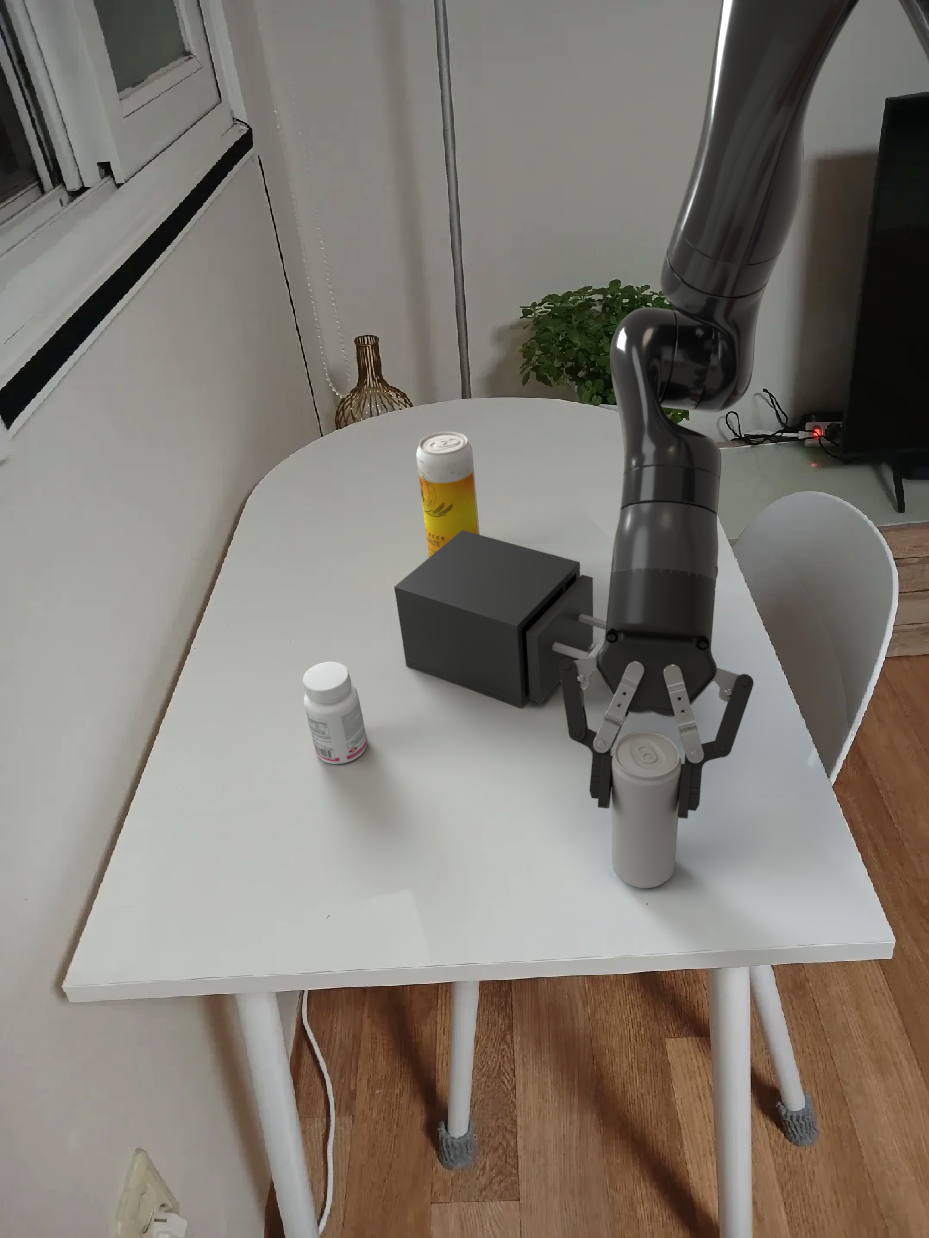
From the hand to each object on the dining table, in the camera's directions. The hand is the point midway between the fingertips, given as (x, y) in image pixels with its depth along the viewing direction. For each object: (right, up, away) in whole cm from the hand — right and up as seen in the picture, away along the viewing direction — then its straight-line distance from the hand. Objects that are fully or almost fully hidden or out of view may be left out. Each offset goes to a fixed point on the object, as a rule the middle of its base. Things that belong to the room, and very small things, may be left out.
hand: (643, 811), depth 67 cm
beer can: (-14, +20, +44) cm, 50 cm away
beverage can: (+1, -6, +6) cm, 9 cm away
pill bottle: (-24, +2, +20) cm, 31 cm away
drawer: (-6, +9, +26) cm, 29 cm away
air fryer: (-10, +10, +29) cm, 32 cm away
